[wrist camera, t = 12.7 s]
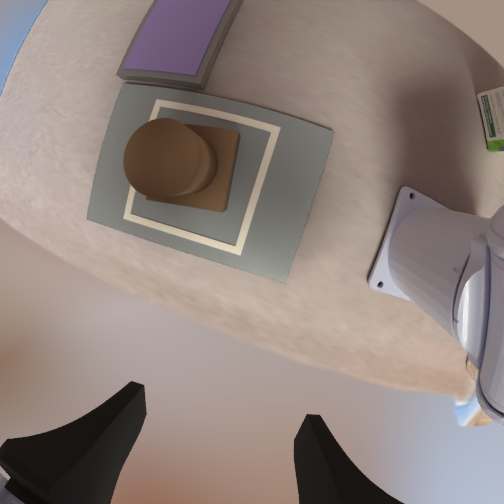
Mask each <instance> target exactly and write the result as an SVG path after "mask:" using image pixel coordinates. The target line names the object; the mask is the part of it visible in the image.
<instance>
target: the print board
mask: <svg viewBox="0 0 504 504" xmlns="http://www.w3.org/2000/svg"><path fill="white" fill-rule="evenodd" d="M159 118H170V119H174V120H177V121H179V122H181V123H182V124H191V125H200V126H209V127H217V128H225V129H232V130H238V132H239V134H240V136H241V137H240V142H239V147H238V153H237V158H236V163H235V168H234V173H233V179H232V184H231V189H230V195H229V200H228V206H227V210H226V211H224V212H223V213H221V212H216V211H210V210H204V209H199V208H193V207H187V206H181V205H175V204H169V203H163V202H156V201H150V200H146V196H145V195H143V194H141V193H139V192H138V191H136V190H135V189H134V188H133V187H132V186H131V184H130V183H129V181H128V180H127V177H126V175H125V172H124V166H123V157H124V151H125V148H126V145H127V143H128V141H129V139H130V137H131V136H132V135H133V133H134V132H135V131H136V130H137V129H138V128H139V127H141V126H142V125H143V124H145V123H147V122H149V121H151V120H154V119H159ZM334 133H335V132H333V131H331V130H328V129H326V128H323V127H320V126H317V125H315V124H312V123H309V122H306V121H303V120H300V119H297V118H294V117H291V116H288V115H285V114H282V113H278V112H275V111H272V110H268V109H265V108H261V107H258V106H254V105H250V104H246V103H242V102H238V101H234V100H230V99H225V98H221V97H216V96H211V95H206V94H201V93H195V92H190V91H184V90H177V89H170V88H163V87H155V86H146V85H136V84H123V85H122V87H121V90H120V93H119V95H118V98H117V101H116V103H115V106H114V109H113V112H112V115H111V118H110V121H109V124H108V128H107V131H106V134H105V138H104V141H103V145H102V148H101V152H100V156H99V160H98V164H97V168H96V172H95V177H94V181H93V186H92V191H91V196H90V202H89V207H88V213H87V220H90V221H93V222H95V223H98V224H101V225H104V226H107V227H110V228H113V229H116V230H119V231H122V232H125V233H128V234H131V235H134V236H137V237H140V238H143V239H146V240H149V241H152V242H155V243H158V244H161V245H164V246H167V247H170V248H173V249H176V250H179V251H182V252H185V253H188V254H192V255H195V256H198V257H201V258H204V259H207V260H210V261H213V262H217V263H220V264H223V265H226V266H229V267H233V268H236V269H239V270H242V271H246V272H249V273H252V274H255V275H259V276H262V277H265V278H268V279H272V280H275V281H278V282H282V283H285V281H286V278H287V275H288V273H289V270H290V267H291V264H292V262H293V259H294V256H295V253H296V250H297V247H298V245H299V242H300V239H301V236H302V233H303V230H304V227H305V224H306V221H307V218H308V215H309V212H310V209H311V206H312V203H313V200H314V197H315V194H316V191H317V188H318V185H319V182H320V179H321V175H322V172H323V169H324V166H325V163H326V159H327V156H328V153H329V150H330V146H331V143H332V140H333V136H334Z"/></svg>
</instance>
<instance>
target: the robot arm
mask: <svg viewBox="0 0 504 504" xmlns="http://www.w3.org/2000/svg"><path fill="white" fill-rule="evenodd" d="M410 193H412V195H413V197H412V199H410ZM380 281H381V282H382V283H381V285H380V286H377V285H378V283H379V282H380ZM368 285H369V287H370V288H372V289H374V290H377V291H381V292H384V293H387V294H390V295H393V296H397V297H400V298H403V299H406V300H409V301H413V302H415V303H416V304H417V305H418V306H419V307H420V308H421V309H423V310H424V311H425V312H426V313H427V314H428V315H429V316H430V317H432V318H433V319H434V320H435V321H436V322H437V323H438V324H439V325H440V326H441V327H443V328H444V329H445V330H446V331H447V332H448V333H449V334H450V335H451V336H452V337H453V338H454V339H455V340H456V341H457V342H458V343H460V345H461V346H462V347H463V348H464V349H465V350H466V351H467V352H468V360H469V361H470V362H471V363H472V364H473V365H474V366H475V367H476V368H477V369H478V370H479V371H478V375H477V380H476V395H477V399H478V402H479V404H480V406H481V408H482V410H483V411H484V412H485V413H486V415H488V416H489V417H490V418H491V419H492V420H494V421H496V422H498V423H500V424H503V425H504V205H503V206H502V207H500V208H499V209H498V210H497V212H496V213H495V215H494V216H493V217H491V219H489V218H485V217H480V216H476V215H471V214H467V213H462V212H457V211H452V210H450V209H448V208H446V207H445V206H443V205H441V204H439V203H438V202H436V201H434V200H432V199H430V198H429V197H427V196H425V195H423V194H421V193H419V192H417V191H415V190H413V189H412V188H410V187H406V186H404V187H402V188H401V189H400V192H399V195H398V198H397V201H396V205H395V208H394V211H393V214H392V217H391V220H390V223H389V226H388V229H387V232H386V235H385V237H384V240H383V243H382V246H381V248H380V251H379V254H378V256H377V259H376V261H375V264H374V267H373V269H372V271H371V274H370V276H369V279H368ZM146 414H147V413H146V402H145V390H144V385H142V384H139V383H136V382H133V381H131V382H129V383H128V384H127V385H126V386H125V387H123V388H122V389H121V390H120V391H119V392H117V393H116V394H115V395H113V396H112V397H111V398H109V399H108V400H107V401H105V402H104V403H103V404H101V405H100V406H98V407H97V408H95V409H94V410H92V411H91V412H89V413H87V414H86V415H84V416H82V417H81V418H79V419H77V420H75V421H73V422H71V423H69V424H67V425H64V426H62V427H59V428H57V429H54V430H51V431H48V432H45V433H41V434H37V435H33V436H28V437H22V438H13V439H7V440H6V441H5V442H4V443H3V445H2V446H1V447H0V466H1V467H2V468H3V469H4V470H5V471H6V473H7V474H8V475H9V476H10V477H11V478H10V479H9V481H8V480H7V479H6V478H5V477H4V476H3V475H2V474H1V473H0V504H110V503H111V499H112V496H113V493H114V489H115V486H116V483H117V480H118V477H119V474H120V471H121V469H122V467H123V465H124V463H125V461H126V459H127V457H128V455H129V453H130V451H131V449H132V447H133V445H134V443H135V441H136V439H137V437H138V435H139V433H140V431H141V428H142V426H143V423H144V420H145V417H146ZM294 463H295V471H296V478H297V485H298V493H299V504H404V503H402V502H400V501H398V500H397V499H395V498H393V497H392V496H390V495H388V494H387V493H386V492H384V491H383V490H382V489H380V488H379V487H378V486H377V485H375V484H374V483H373V482H372V481H370V480H369V479H368V478H367V477H366V476H365V475H364V474H363V473H362V472H361V471H360V470H359V469H358V468H357V467H356V466H355V464H354V463H353V462H352V461H351V460H350V458H348V456H347V455H346V453H345V452H344V451H343V449H342V448H341V447H340V445H339V444H338V442H337V441H336V439H335V438H334V436H333V435H332V433H331V432H330V430H329V429H328V427H327V425H326V424H325V422H324V421H323V419H322V417H321V416H320V415H311V414H307V415H306V417H305V419H304V421H303V423H302V425H301V427H300V429H299V431H298V433H297V435H296V437H295V439H294Z"/></svg>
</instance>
